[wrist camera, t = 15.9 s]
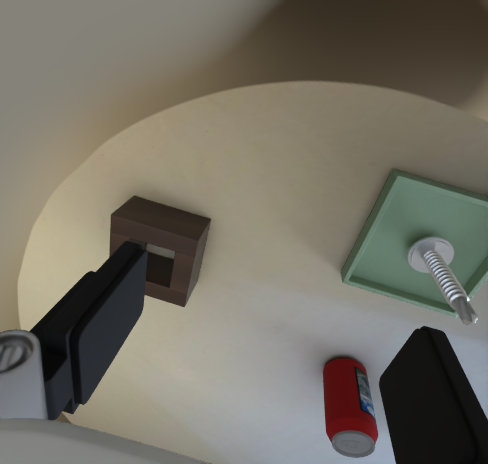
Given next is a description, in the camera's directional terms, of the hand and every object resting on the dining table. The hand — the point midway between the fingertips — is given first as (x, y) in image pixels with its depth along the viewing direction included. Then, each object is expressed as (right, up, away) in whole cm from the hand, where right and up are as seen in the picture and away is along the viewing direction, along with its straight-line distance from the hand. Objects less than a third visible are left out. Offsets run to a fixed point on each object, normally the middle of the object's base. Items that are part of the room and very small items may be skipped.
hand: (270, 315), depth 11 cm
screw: (+21, +1, +28) cm, 35 cm away
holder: (-12, +2, +35) cm, 37 cm away
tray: (+21, +1, +29) cm, 36 cm away
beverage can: (+15, -19, +41) cm, 48 cm away
